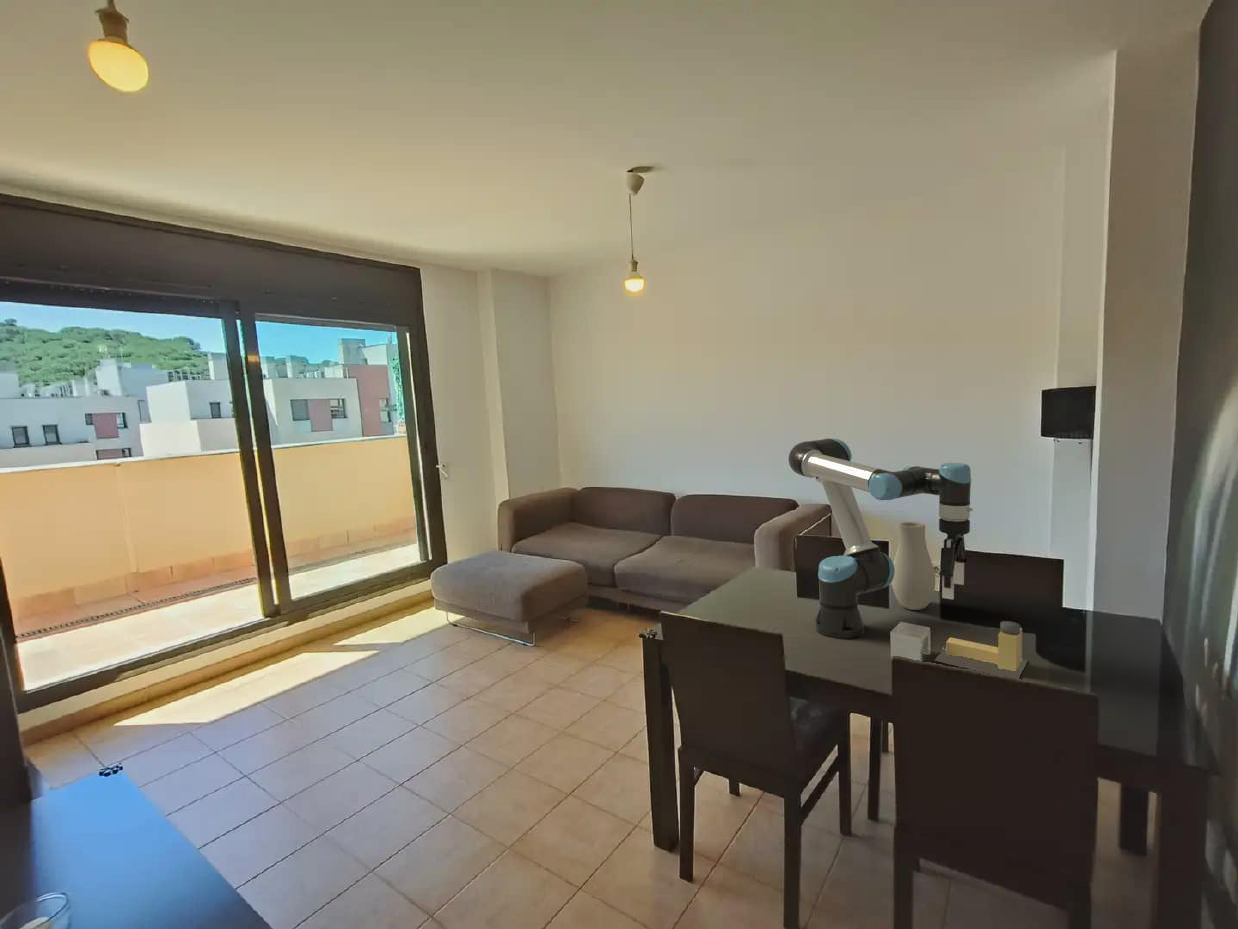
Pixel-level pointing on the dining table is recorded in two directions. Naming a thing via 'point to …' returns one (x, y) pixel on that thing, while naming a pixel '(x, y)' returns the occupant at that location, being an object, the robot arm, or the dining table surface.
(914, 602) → the vase
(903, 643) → the grey slotted block
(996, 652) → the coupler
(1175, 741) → the dining table surface
